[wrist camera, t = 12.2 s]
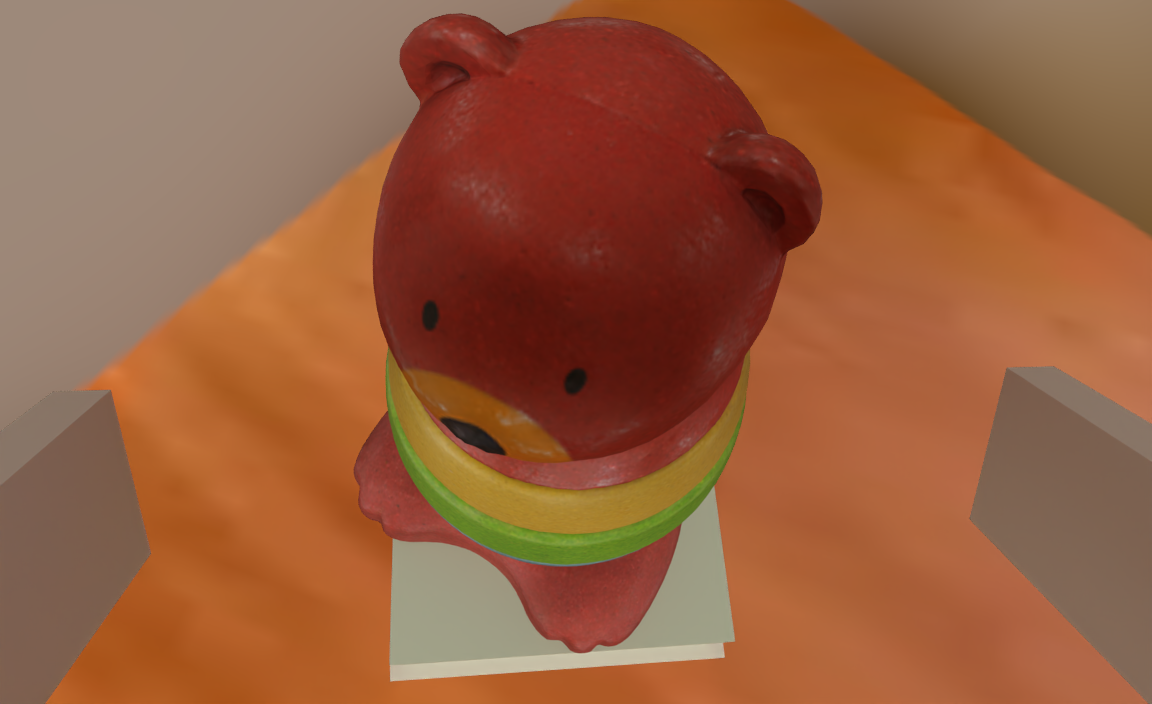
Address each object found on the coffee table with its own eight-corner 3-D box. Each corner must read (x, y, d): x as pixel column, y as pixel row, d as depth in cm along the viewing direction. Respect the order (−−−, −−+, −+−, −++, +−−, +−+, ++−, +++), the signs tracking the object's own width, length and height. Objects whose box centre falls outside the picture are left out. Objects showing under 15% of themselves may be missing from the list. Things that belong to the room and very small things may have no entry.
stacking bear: (331, 498, 25) (-16, 192, 9) (498, 274, 29) (475, -238, 12) (608, 680, 24) (818, 721, 7) (748, 420, 27) (1097, 55, 11)
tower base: (665, 342, 36) (697, 272, 30) (702, 658, 31) (752, 657, 24) (410, 350, 35) (386, 279, 28) (403, 679, 30) (372, 683, 23)
